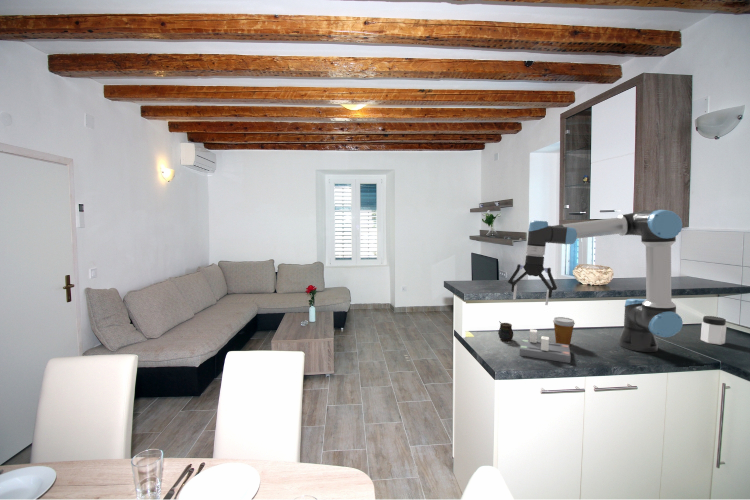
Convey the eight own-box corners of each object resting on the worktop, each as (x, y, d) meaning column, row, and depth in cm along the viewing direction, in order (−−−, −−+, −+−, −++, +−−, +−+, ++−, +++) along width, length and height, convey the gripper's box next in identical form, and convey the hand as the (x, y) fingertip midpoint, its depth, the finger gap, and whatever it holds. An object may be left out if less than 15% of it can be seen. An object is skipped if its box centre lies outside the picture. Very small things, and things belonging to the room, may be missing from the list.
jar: (706, 337, 185) (708, 314, 184) (727, 342, 178) (729, 319, 177) (697, 340, 181) (699, 317, 180) (718, 345, 174) (720, 321, 173)
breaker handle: (536, 340, 172) (537, 329, 172) (536, 342, 169) (536, 332, 168) (529, 339, 173) (530, 329, 173) (529, 341, 170) (529, 331, 169)
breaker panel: (568, 351, 168) (568, 344, 167) (570, 362, 154) (570, 355, 154) (521, 344, 176) (522, 338, 176) (519, 355, 163) (519, 348, 162)
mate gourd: (516, 340, 182) (517, 321, 181) (505, 343, 179) (505, 323, 178) (506, 336, 188) (506, 317, 187) (494, 338, 185) (495, 319, 184)
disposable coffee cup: (576, 347, 172) (577, 322, 171) (555, 346, 174) (556, 321, 173) (570, 340, 182) (571, 317, 180) (549, 339, 183) (550, 316, 182)
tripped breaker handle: (548, 348, 162) (548, 337, 161) (548, 351, 158) (548, 339, 158) (541, 347, 163) (541, 336, 163) (540, 349, 160) (541, 338, 159)
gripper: (504, 252, 165) (499, 298, 167) (565, 259, 152) (560, 308, 155) (507, 251, 172) (503, 295, 174) (567, 257, 159) (561, 305, 161)
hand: (530, 301), depth 164 cm, fingers open, 13 cm apart
